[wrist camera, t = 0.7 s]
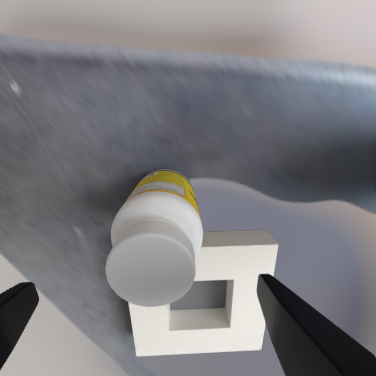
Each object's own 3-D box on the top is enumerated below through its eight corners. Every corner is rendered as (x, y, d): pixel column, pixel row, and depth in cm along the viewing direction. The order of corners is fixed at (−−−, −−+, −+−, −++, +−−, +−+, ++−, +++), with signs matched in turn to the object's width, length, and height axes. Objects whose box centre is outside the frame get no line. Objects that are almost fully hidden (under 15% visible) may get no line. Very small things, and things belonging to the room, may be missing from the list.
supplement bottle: (189, 224, 18) (197, 324, 9) (134, 217, 18) (84, 313, 9) (199, 172, 17) (223, 229, 8) (140, 162, 16) (85, 209, 7)
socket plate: (266, 229, 19) (280, 247, 16) (252, 327, 23) (262, 353, 21) (128, 234, 18) (118, 253, 16) (141, 332, 23) (135, 360, 20)
